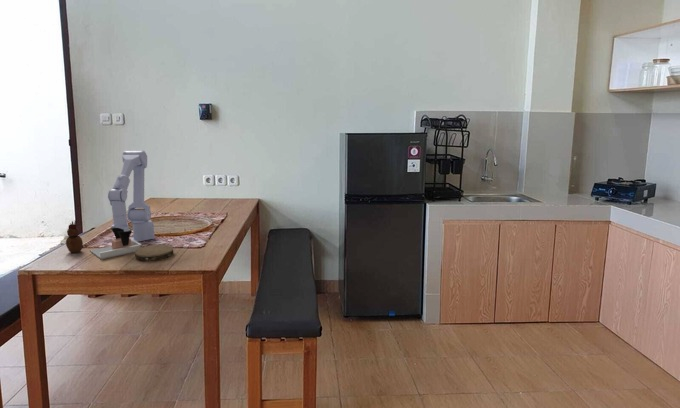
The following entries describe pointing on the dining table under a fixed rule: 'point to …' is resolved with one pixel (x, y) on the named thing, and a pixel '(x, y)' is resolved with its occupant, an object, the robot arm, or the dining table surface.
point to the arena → (116, 250)
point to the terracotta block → (119, 244)
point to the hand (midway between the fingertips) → (122, 243)
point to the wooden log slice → (154, 253)
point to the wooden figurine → (73, 239)
